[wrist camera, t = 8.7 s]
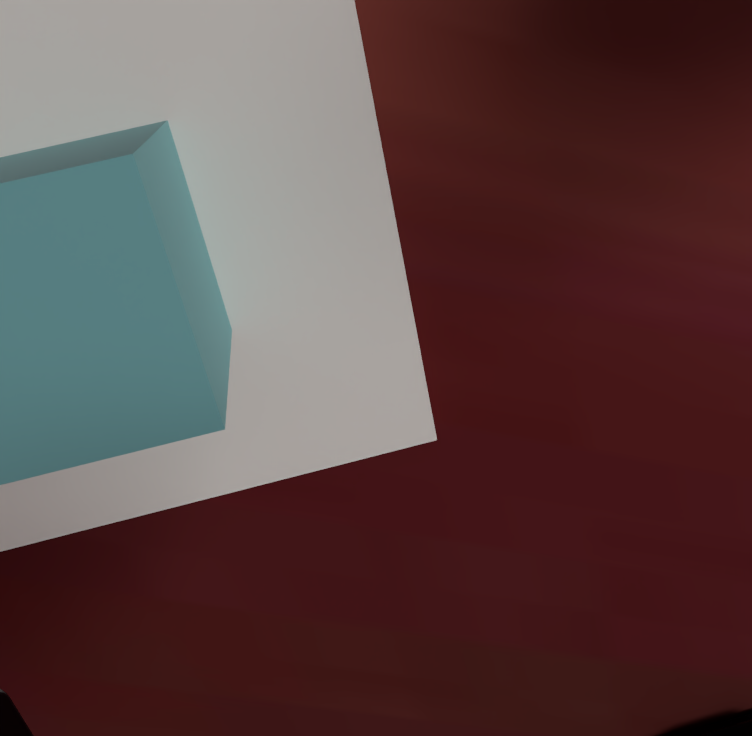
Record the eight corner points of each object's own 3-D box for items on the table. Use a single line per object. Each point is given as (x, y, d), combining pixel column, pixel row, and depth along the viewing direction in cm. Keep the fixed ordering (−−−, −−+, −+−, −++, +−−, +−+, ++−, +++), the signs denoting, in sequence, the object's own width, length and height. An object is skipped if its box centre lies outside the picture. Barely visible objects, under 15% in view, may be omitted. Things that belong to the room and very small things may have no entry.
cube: (232, 330, 18) (225, 429, 13) (28, 379, 17) (-49, 496, 13) (167, 120, 16) (132, 153, 11) (-66, 172, 15) (-199, 228, 11)
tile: (432, 429, 20) (436, 439, 20) (-63, 555, 20) (-72, 570, 19) (319, -163, 14) (322, -171, 14) (-404, -14, 14) (-431, -16, 13)
